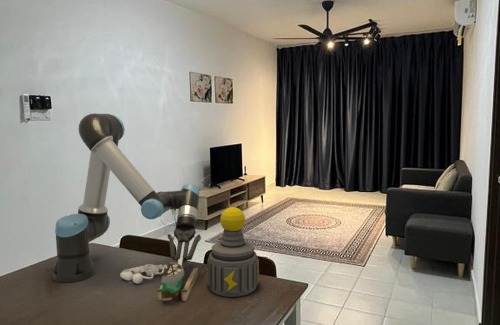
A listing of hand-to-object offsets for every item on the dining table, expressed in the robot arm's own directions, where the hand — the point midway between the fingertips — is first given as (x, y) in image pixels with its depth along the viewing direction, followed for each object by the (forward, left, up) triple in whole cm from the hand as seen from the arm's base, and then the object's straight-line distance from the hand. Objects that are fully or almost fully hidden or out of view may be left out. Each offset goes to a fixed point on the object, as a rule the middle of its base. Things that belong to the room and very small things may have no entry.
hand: (178, 277), depth 138 cm
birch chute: (-1, +4, -5) cm, 7 cm away
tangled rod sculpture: (-18, +15, -6) cm, 24 cm away
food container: (-1, -4, -5) cm, 6 cm away
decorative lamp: (+19, +5, -6) cm, 21 cm away
